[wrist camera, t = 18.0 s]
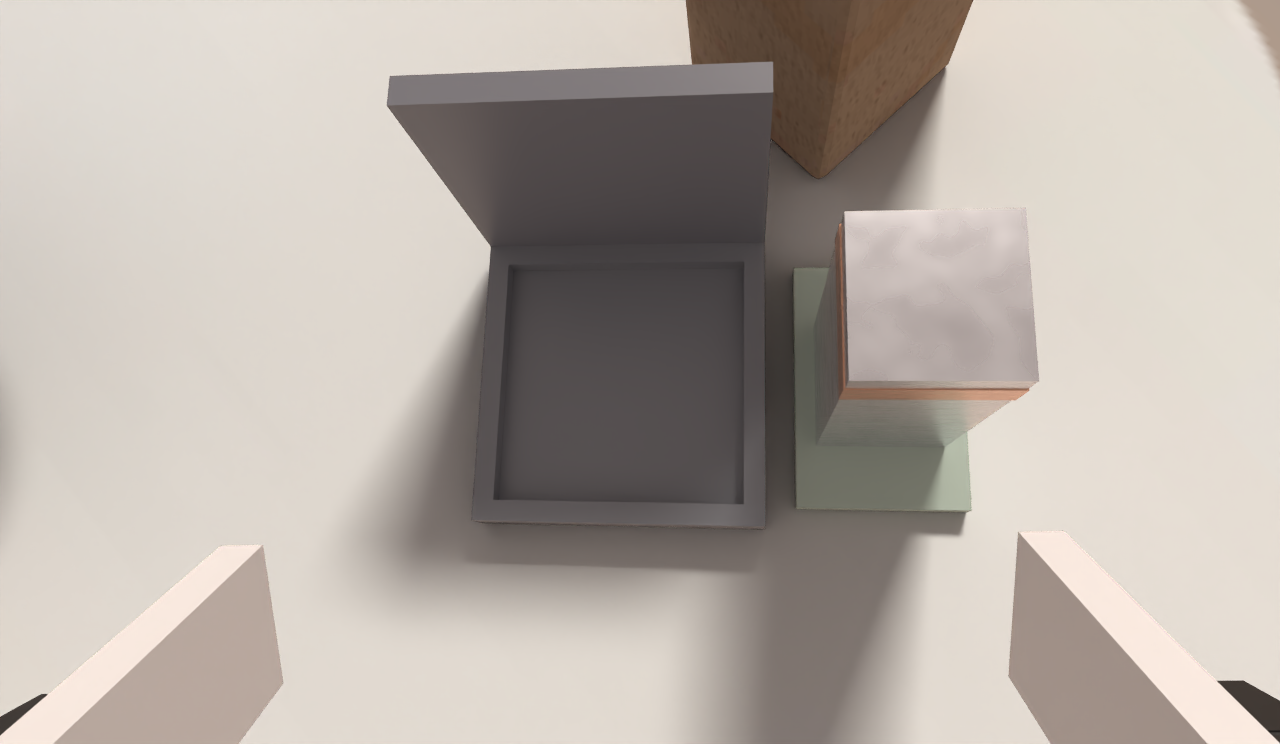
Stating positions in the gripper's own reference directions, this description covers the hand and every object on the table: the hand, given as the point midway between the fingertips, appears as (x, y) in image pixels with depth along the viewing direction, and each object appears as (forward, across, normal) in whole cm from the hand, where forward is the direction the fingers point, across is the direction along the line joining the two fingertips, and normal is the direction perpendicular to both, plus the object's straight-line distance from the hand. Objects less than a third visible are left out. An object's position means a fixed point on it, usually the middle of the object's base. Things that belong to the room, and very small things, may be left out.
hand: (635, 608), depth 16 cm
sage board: (+29, +10, -4) cm, 31 cm away
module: (+28, +10, -4) cm, 30 cm away
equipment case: (+30, -2, -4) cm, 30 cm away
